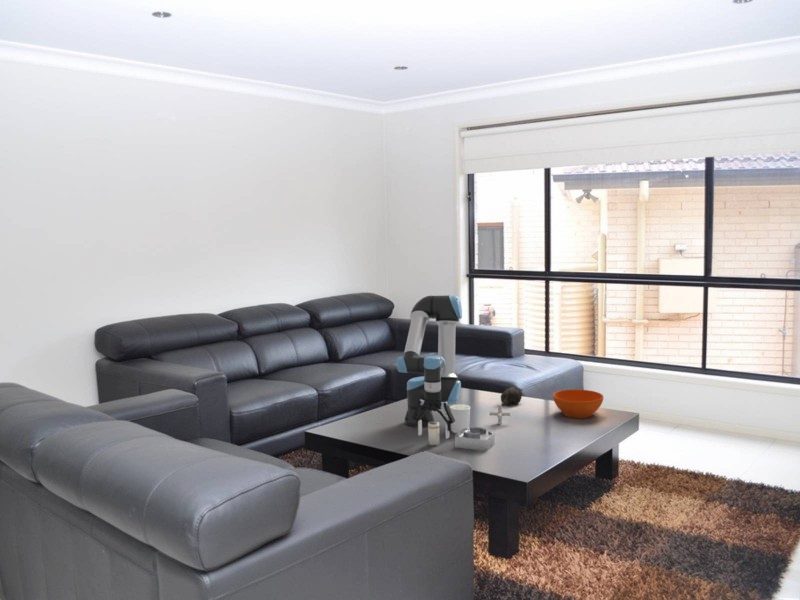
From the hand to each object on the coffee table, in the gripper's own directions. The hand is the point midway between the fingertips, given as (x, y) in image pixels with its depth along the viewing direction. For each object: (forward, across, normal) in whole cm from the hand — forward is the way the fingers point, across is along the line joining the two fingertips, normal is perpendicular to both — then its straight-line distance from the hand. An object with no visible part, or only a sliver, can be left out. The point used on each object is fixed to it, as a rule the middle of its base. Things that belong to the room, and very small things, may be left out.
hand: (433, 436), depth 330 cm
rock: (+3, +12, +79) cm, 80 cm away
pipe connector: (+4, +18, +41) cm, 45 cm away
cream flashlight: (+4, 0, 0) cm, 4 cm away
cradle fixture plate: (+4, +18, +5) cm, 19 cm away
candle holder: (+4, +4, +23) cm, 24 cm away
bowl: (+3, +50, +71) cm, 87 cm away
